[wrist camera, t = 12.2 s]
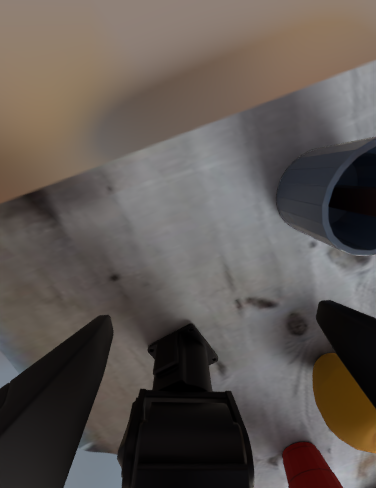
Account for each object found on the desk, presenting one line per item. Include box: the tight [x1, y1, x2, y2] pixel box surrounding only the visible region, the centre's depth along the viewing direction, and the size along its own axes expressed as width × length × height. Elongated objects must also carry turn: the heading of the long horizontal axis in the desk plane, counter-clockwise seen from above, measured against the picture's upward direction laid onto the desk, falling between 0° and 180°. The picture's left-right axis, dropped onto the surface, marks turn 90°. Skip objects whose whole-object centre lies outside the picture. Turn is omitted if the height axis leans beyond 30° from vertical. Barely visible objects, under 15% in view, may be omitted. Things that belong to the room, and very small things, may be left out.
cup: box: [276, 137, 376, 256], centre depth 16 cm, size 8×8×6 cm
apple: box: [312, 353, 376, 453], centre depth 22 cm, size 9×9×9 cm
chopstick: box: [328, 185, 376, 217], centre depth 14 cm, size 2×2×10 cm
